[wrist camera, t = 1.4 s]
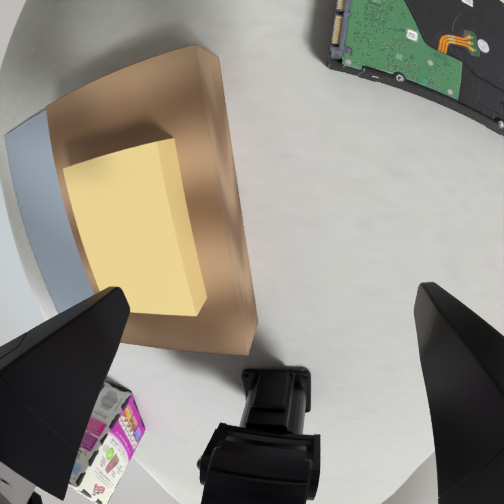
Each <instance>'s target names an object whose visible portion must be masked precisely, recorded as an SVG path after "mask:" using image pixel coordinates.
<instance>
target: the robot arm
mask: <svg viewBox="0 0 504 504" xmlns="http://www.w3.org/2000/svg"><path fill="white" fill-rule="evenodd" d="M129 315H130V305H129V303H128V301H127V299H126V297H125V294H124V292H123V290H122V289H121V288H120V287H116V286H110V287H107V288H105V289H104V290H102V291H100V292H98V293H96V294H94V295H92V296H91V297H89V298H87V299H85V300H83V301H81V302H79V303H78V304H76V305H74V306H72V307H70V308H68V309H67V310H65V311H63V312H61V313H59V314H58V315H56V316H54V317H52V318H50V319H49V320H47V321H45V322H43V323H42V324H40V325H39V326H36V327H35V328H33V329H31V330H29V331H28V332H26V333H24V334H22V335H21V336H19V337H17V338H16V339H14V340H12V341H10V342H8V343H6V344H5V345H3V346H1V347H0V504H42V499H41V496H40V495H39V494H38V493H36V492H35V491H34V489H35V487H36V486H37V487H39V488H41V489H42V490H44V491H46V492H48V493H49V494H51V495H53V496H55V497H57V498H59V499H60V500H62V501H63V500H64V498H65V495H66V491H67V488H68V484H69V481H70V478H71V474H72V471H73V468H74V464H75V461H76V458H77V455H78V451H79V448H80V445H81V442H82V440H83V437H84V434H85V431H86V428H87V425H88V423H89V420H90V417H91V414H92V412H93V409H94V406H95V404H96V401H97V399H98V396H99V394H100V391H101V388H102V386H103V383H104V381H105V379H106V376H107V374H108V371H109V369H110V367H111V364H112V362H113V359H114V357H115V355H116V352H117V350H118V347H119V344H120V341H121V338H122V335H123V332H124V329H125V326H126V323H127V320H128V317H129ZM414 317H415V324H416V331H417V338H418V346H419V354H420V362H421V367H422V372H423V377H424V382H425V387H426V392H427V397H428V403H429V409H430V415H431V422H432V429H433V437H434V445H435V454H436V466H437V481H438V497H439V498H438V504H504V336H503V335H502V334H501V333H499V332H498V331H497V330H496V329H495V328H493V327H492V326H491V325H490V324H488V323H487V322H486V321H485V320H483V319H482V318H481V317H480V316H478V315H477V314H476V313H475V312H473V311H472V310H471V309H469V308H468V307H467V306H466V305H464V304H463V303H462V302H460V301H459V300H458V299H456V298H455V297H454V296H452V295H451V294H450V293H448V292H447V291H446V290H444V289H443V288H441V287H440V286H439V285H437V284H436V283H434V282H423V283H421V284H420V285H419V287H418V291H417V296H416V301H415V305H414ZM242 379H243V383H244V387H245V391H246V395H247V400H246V404H245V408H244V411H243V415H242V419H241V422H240V426H239V427H238V426H232V425H227V424H226V423H221V422H220V424H219V426H218V428H217V429H215V431H214V433H213V435H212V437H211V439H210V441H209V443H208V445H207V447H206V449H205V451H204V453H203V455H202V456H201V457H200V459H199V460H198V462H197V467H198V468H199V470H200V483H201V484H202V485H204V490H203V496H202V501H201V504H306V500H314V498H315V495H316V492H317V488H318V483H319V476H320V435H319V434H314V435H304V434H303V427H304V417H305V413H306V412H309V411H310V410H311V373H310V372H308V371H276V370H251V369H245V370H243V371H242Z"/></svg>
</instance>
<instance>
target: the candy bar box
mask: <svg viewBox="0 0 504 504" xmlns="http://www.w3.org/2000/svg"><path fill="white" fill-rule="evenodd" d="M145 430H146V429H145V426H144V424H143V421H142V419H141V416H140V414H139V411H138V408H137V406H136V403H135V400H134V397H133V394H132V393H131V392H129V391H127V390H124V389H122V388H119V387H117V386H115V385H113V384H111V383H108V382H104V383H103V386H102V388H101V391H100V394H99V396H98V399H97V401H96V404H95V406H94V409H93V412H92V414H91V417H90V420H89V423H88V425H87V428H86V431H85V434H84V437H83V440H82V442H81V445H80V448H79V451H78V455H77V458H76V461H75V464H74V468H73V471H72V474H71V478H70V481H69V484H68V486H69V487H71V488H72V489H74V490H75V491H76V492H78V493H79V494H81V495H82V496H84V497H86V498H87V499H89V500H91V501H93V502H94V503H96V504H107V503H108V502H109V499H110V497H111V495H112V493H113V492H114V490H115V488H116V486H117V484H118V482H119V480H120V478H121V476H122V474H123V472H124V470H125V468H126V466H127V464H128V463H129V461H130V459H131V457H132V455H133V453H134V451H135V449H136V447H137V445H138V443H139V441H140V439H141V437H142V435H143V434H144V432H145Z"/></svg>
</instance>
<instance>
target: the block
mask: <svg viewBox="0 0 504 504" xmlns="http://www.w3.org/2000/svg"><path fill="white" fill-rule="evenodd" d="M63 172H64V177H65V181H66V185H67V190H68V194H69V198H70V202H71V205H72V209H73V213H74V216H75V220H76V223H77V227H78V230H79V233H80V237H81V240H82V243H83V246H84V249H85V252H86V255H87V258H88V261H89V264H90V267H91V269H92V272H93V275H94V278H95V280H96V283H97V286H98V288H99V291H102V290H104V289H105V288H107V287H110V286H116V287H120V288H121V289H122V290H123V292H124V294H125V297H126V299H127V301H128V303H129V305H130V312H134V313H148V314H163V315H181V316H197V315H198V313H199V312H200V310H201V308H202V306H203V304H204V303H205V301H206V299H207V294H206V290H205V286H204V282H203V278H202V274H201V269H200V265H199V261H198V256H197V252H196V247H195V243H194V238H193V233H192V229H191V224H190V219H189V214H188V209H187V204H186V199H185V194H184V189H183V184H182V178H181V173H180V168H179V162H178V156H177V151H176V145H175V139H174V138H172V139H167V140H162V141H157V142H153V143H149V144H144V145H140V146H136V147H133V148H129V149H125V150H121V151H118V152H114V153H111V154H107V155H104V156H100V157H97V158H94V159H91V160H87V161H84V162H81V163H78V164H75V165H72V166H69V167H66V168H63Z"/></svg>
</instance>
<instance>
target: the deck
mask: <svg viewBox="0 0 504 504" xmlns="http://www.w3.org/2000/svg"><path fill="white" fill-rule="evenodd" d="M46 114H47V121H48V129H49V135H50V141H51V147H52V153H53V158H54V163H55V168H56V173H57V177H58V182H59V186H60V190H61V194H62V198H63V202H64V206H65V209H66V213H67V217H68V220H69V224H70V227H71V230H72V233H73V237H74V240H75V243H76V246H77V249H78V252H79V255H80V258H81V261H82V264H83V266H84V269H85V272H86V274H87V277H88V280H89V282H90V285H91V287H92V290H93V293H94V294H96V293H98V292H100V291H99V288H98V286H97V283H96V280H95V278H94V275H93V272H92V269H91V267H90V264H89V261H88V258H87V255H86V252H85V249H84V246H83V243H82V240H81V237H80V233H79V230H78V227H77V223H76V220H75V216H74V213H73V209H72V205H71V202H70V198H69V194H68V190H67V185H66V181H65V177H64V172H63V168H66V167H69V166H72V165H75V164H78V163H81V162H84V161H87V160H91V159H94V158H97V157H100V156H104V155H107V154H111V153H114V152H118V151H121V150H125V149H129V148H133V147H136V146H140V145H144V144H149V143H153V142H157V141H162V140H167V139H172V138H174V139H175V145H176V151H177V156H178V162H179V168H180V173H181V178H182V184H183V189H184V194H185V199H186V204H187V209H188V214H189V219H190V224H191V229H192V233H193V238H194V243H195V247H196V252H197V256H198V261H199V265H200V269H201V274H202V278H203V282H204V286H205V290H206V294H207V299H206V301H205V303H204V304H203V306H202V308H201V310H200V312H199V313H198V315H197V316H181V315H163V314H148V313H134V312H130V315H129V317H128V320H127V323H126V326H125V329H124V332H123V335H122V338H121V341H120V343H126V344H133V345H140V346H148V347H155V348H164V349H173V350H182V351H192V352H204V353H217V354H233V355H249V351H250V348H251V345H252V341H253V338H254V334H255V331H256V327H257V324H258V318H257V311H256V305H255V298H254V291H253V285H252V278H251V272H250V265H249V259H248V252H247V245H246V239H245V232H244V226H243V219H242V212H241V206H240V199H239V192H238V186H237V179H236V172H235V165H234V159H233V152H232V145H231V138H230V131H229V125H228V118H227V111H226V104H225V97H224V90H223V83H222V76H221V69H220V63H219V57H217V56H216V55H214V54H212V53H211V52H209V51H207V50H206V49H204V48H202V47H200V46H198V45H197V44H195V45H191V46H188V47H184V48H181V49H177V50H174V51H171V52H168V53H164V54H161V55H158V56H155V57H152V58H150V59H147V60H144V61H141V62H138V63H136V64H133V65H131V66H128V67H125V68H123V69H121V70H118V71H116V72H113V73H111V74H109V75H106V76H104V77H102V78H100V79H98V80H95V81H93V82H91V83H89V84H87V85H85V86H83V87H81V88H79V89H77V90H75V91H73V92H71V93H69V94H67V95H65V96H64V97H62V98H60V99H58V100H56V101H55V102H53V103H51V104H49V105H48V106H46Z"/></svg>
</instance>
